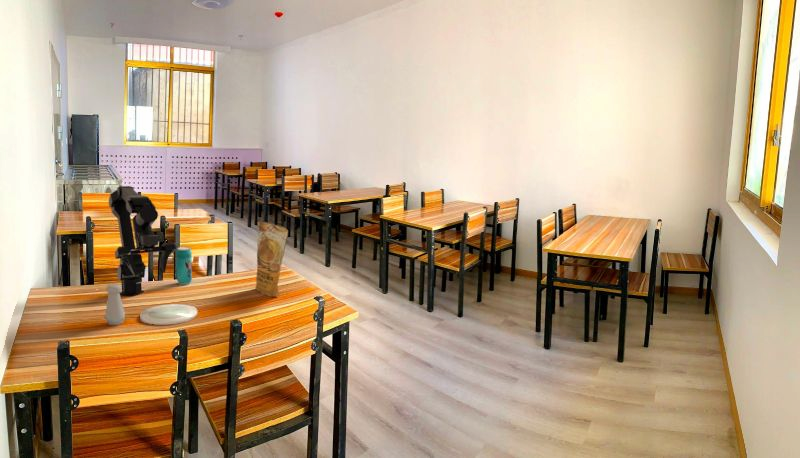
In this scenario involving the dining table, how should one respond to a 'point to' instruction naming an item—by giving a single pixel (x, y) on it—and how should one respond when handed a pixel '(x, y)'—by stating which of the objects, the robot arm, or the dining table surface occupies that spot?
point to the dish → (168, 314)
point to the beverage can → (184, 265)
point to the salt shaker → (114, 305)
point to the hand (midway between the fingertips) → (150, 274)
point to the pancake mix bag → (270, 257)
